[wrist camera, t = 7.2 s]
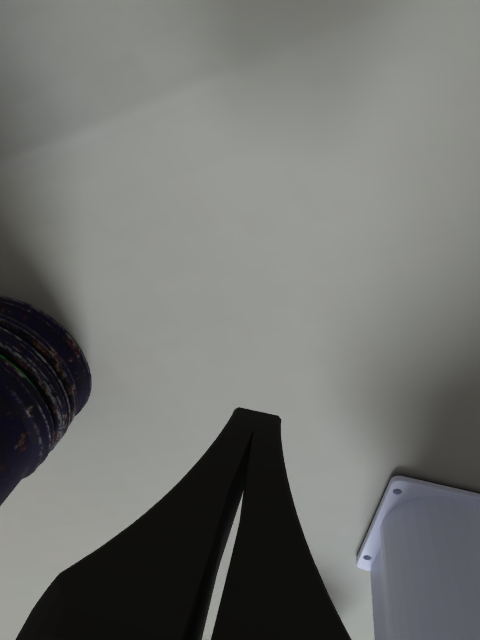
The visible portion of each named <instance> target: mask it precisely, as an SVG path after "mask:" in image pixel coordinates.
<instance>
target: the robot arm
mask: <svg viewBox="0 0 480 640" xmlns="http://www.w3.org/2000/svg"><path fill="white" fill-rule="evenodd" d="M243 490H244V492H243ZM242 494H243V499H242V507H241V515H240V523H239V527H238V531H237V536H236V540H235V544H234V548H233V552H232V557H231V561H230V565H229V569H228V573H227V577H226V581H225V585H224V590H223V594H222V598H221V602H220V606H219V610H218V614H217V618H216V622H215V626H214V630H213V634H212V638H211V640H351V638H350V636H349V634H348V632H347V631H346V629H345V627H344V625H343V623H342V621H341V619H340V617H339V615H338V613H337V611H336V609H335V607H334V605H333V603H332V601H331V599H330V597H329V595H328V592H327V590H326V588H325V586H324V583H323V581H322V579H321V576H320V574H319V572H318V569H317V567H316V565H315V563H314V560H313V558H312V555H311V553H310V550H309V547H308V545H307V542H306V539H305V537H304V534H303V531H302V528H301V525H300V522H299V519H298V516H297V512H296V509H295V506H294V502H293V498H292V495H291V491H290V487H289V482H288V478H287V473H286V468H285V463H284V457H283V450H282V442H281V419H280V418H279V416H276V415H272V414H267V413H263V412H258V411H253V410H249V409H244V408H240V407H239V408H237V409H235V410H234V412H233V414H232V416H231V418H230V419H229V421H228V423H227V424H226V426H225V427H224V429H223V430H222V431H221V433H220V434H219V436H218V437H217V438H216V440H215V441H214V442H213V444H212V445H211V446H210V447H209V449H208V450H207V451H206V452H205V454H204V455H203V456H202V457H201V459H200V460H199V461H198V462H197V463H196V464H195V465H194V466H193V467H192V469H191V470H190V471H189V472H188V473H187V474H186V475H185V476H184V477H183V478H182V479H181V481H180V482H179V483H178V484H177V485H176V486H175V487H174V488H173V489H172V490H170V491H169V492H168V493H167V494H166V495H165V496H164V497H163V498H162V499H161V500H160V501H159V502H158V503H156V504H155V505H154V506H153V507H152V508H151V509H149V510H148V511H147V512H146V513H145V514H144V515H142V516H141V517H140V518H139V519H138V520H136V521H135V522H134V523H133V524H131V525H130V526H129V527H127V528H126V529H125V530H123V531H122V532H121V533H119V534H118V535H116V536H115V537H114V538H112V539H111V540H110V541H108V542H107V543H106V544H104V545H103V546H101V547H100V548H99V549H97V550H96V551H94V552H93V553H91V554H89V555H88V556H86V557H85V558H83V559H82V560H80V561H78V562H77V563H75V564H74V565H72V566H71V567H69V568H67V569H66V570H64V571H63V572H61V573H60V574H59V575H58V576H57V577H56V578H55V580H54V581H53V582H52V583H51V585H50V586H49V587H48V588H47V590H46V591H45V592H44V594H43V595H42V597H41V598H40V599H39V601H38V602H37V604H36V605H35V606H34V608H33V609H32V611H31V613H30V615H29V617H28V618H27V620H26V622H25V624H24V625H23V627H22V629H21V631H20V633H19V634H18V636H17V638H16V640H202V636H203V631H204V627H205V623H206V618H207V614H208V610H209V606H210V601H211V597H212V593H213V589H214V584H215V580H216V576H217V572H218V569H219V565H220V562H221V558H222V555H223V552H224V549H225V546H226V543H227V540H228V537H229V534H230V531H231V527H232V524H233V521H234V518H235V515H236V512H237V509H238V506H239V503H240V500H241V497H242ZM356 565H357V567H358V568H360V569H363V570H367V571H370V574H371V589H372V605H373V620H374V635H375V640H480V494H479V493H474V492H470V491H466V490H461V489H457V488H452V487H448V486H444V485H439V484H435V483H431V482H426V481H422V480H417V479H413V478H409V477H404V476H394V477H392V478H391V480H390V482H389V484H388V486H387V489H386V491H385V493H384V496H383V498H382V500H381V503H380V505H379V507H378V510H377V512H376V514H375V517H374V519H373V521H372V523H371V526H370V528H369V530H368V533H367V535H366V537H365V540H364V542H363V544H362V547H361V549H360V551H359V554H358V556H357V558H356Z"/></svg>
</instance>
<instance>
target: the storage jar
mask: <svg viewBox="0 0 480 640" xmlns="http://www.w3.org/2000/svg"><path fill="white" fill-rule="evenodd" d="M90 392H91V374H90V370H89V366H88V364H87V361H86V359H85V356H84V355H83V353H82V351H81V349H80V348H79V346H78V345H77V343H76V342H75V341H74V339H73V338H72V337H71V335H70V334H69V333H68V332H67V331H66V330H65V329H64V328H63V327H62V326H61V325H60V324H58V323H57V322H56V321H55V320H54V319H52V318H51V317H50V316H48V315H47V314H45V313H44V312H42V311H41V310H39V309H37V308H35V307H33V306H31V305H29V304H27V303H24V302H21V301H19V300H15V299H11V298H7V297H0V506H1V504H2V503H3V502H4V501H5V499H6V498H7V497H8V496H9V494H10V493H11V492H12V491H13V489H14V488H15V487H16V486H17V484H18V483H19V482H20V481H21V479H23V478H25V477H28V476H29V475H30V474H32V473H33V472H34V471H35V470H36V468H37V467H38V466H39V465H40V464H41V463H43V461H44V460H45V459H46V457H47V456H48V453H49V452H50V451H52V450H53V449H54V447H55V446H56V445H57V443H58V442H59V441H60V439H61V438H62V437H63V436H64V434H65V433H66V431H67V429H68V426H69V425H70V423H71V422H72V421H73V419H74V417H75V416H76V415H77V414H78V413H79V412H80V411H81V410H82V408H83V407H84V405H85V404H86V403H87V401H88V398H89V396H90Z"/></svg>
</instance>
